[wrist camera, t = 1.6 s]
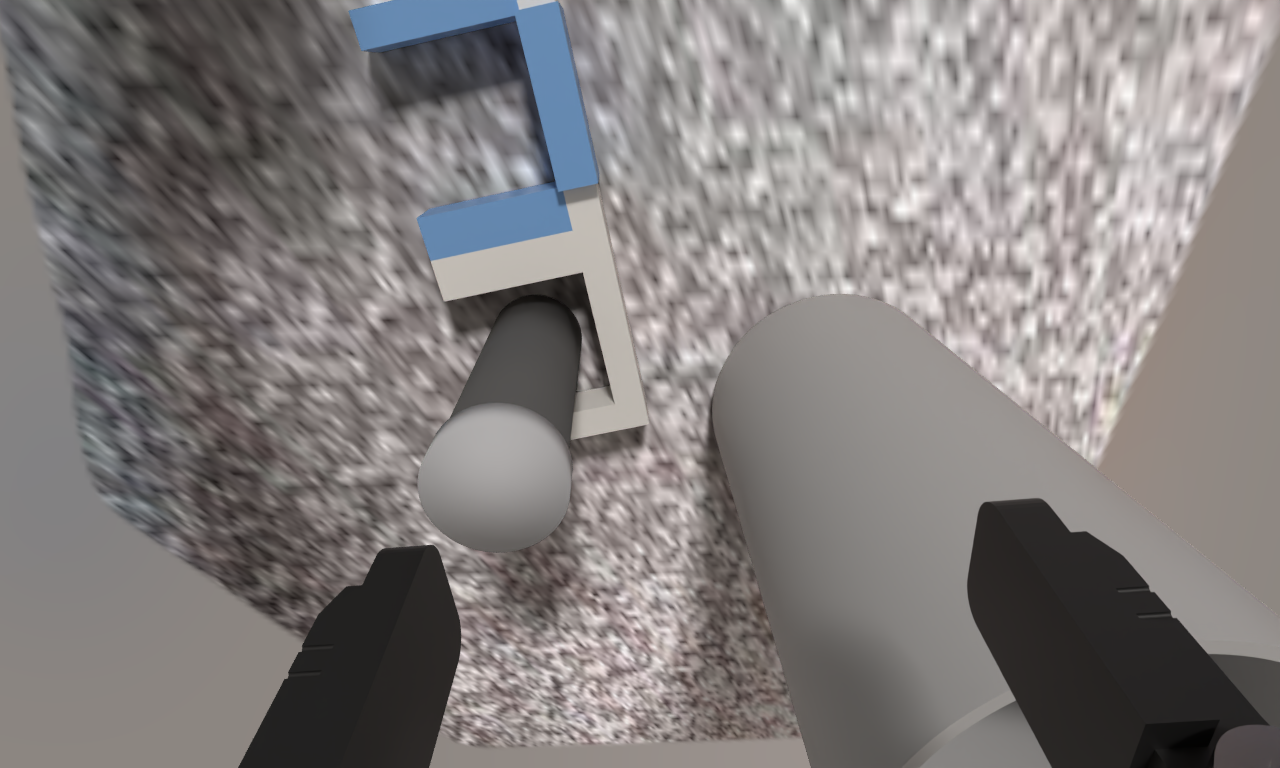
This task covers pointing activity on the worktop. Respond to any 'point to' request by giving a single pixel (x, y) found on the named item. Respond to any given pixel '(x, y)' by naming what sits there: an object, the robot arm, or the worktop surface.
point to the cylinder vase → (921, 536)
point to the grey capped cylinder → (509, 434)
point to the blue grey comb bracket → (529, 194)
